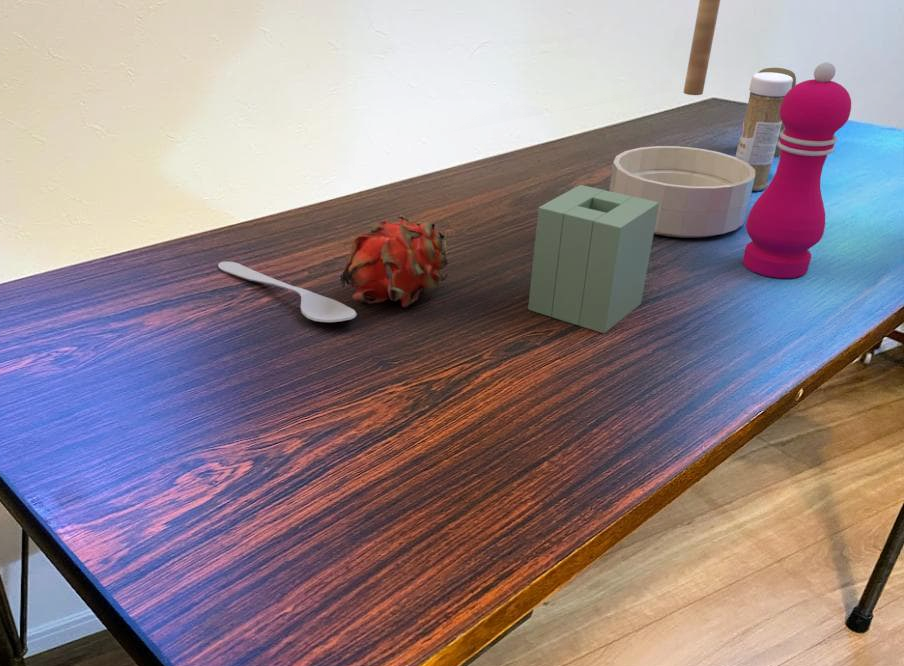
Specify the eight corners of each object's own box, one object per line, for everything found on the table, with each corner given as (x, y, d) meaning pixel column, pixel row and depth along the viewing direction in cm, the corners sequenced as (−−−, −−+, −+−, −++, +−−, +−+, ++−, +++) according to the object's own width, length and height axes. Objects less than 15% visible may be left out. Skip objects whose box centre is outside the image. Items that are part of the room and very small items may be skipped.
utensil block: (641, 304, 86) (659, 202, 80) (604, 334, 81) (621, 227, 75) (567, 282, 90) (580, 184, 84) (527, 309, 85) (538, 207, 79)
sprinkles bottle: (725, 179, 116) (749, 70, 109) (762, 181, 116) (788, 71, 109) (732, 191, 112) (757, 79, 105) (770, 193, 112) (798, 80, 105)
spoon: (334, 340, 80) (334, 323, 79) (204, 269, 93) (203, 254, 92) (369, 325, 82) (369, 309, 81) (237, 258, 95) (236, 243, 94)
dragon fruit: (454, 300, 90) (353, 346, 86) (410, 232, 92) (309, 274, 88) (483, 255, 82) (372, 303, 78) (434, 182, 84) (324, 225, 80)
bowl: (762, 212, 106) (774, 162, 103) (713, 252, 96) (725, 197, 93) (640, 186, 114) (648, 138, 111) (584, 220, 104) (590, 169, 101)
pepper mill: (807, 286, 89) (868, 74, 78) (731, 272, 92) (779, 66, 81) (816, 260, 94) (873, 59, 83) (743, 248, 97) (790, 51, 86)
